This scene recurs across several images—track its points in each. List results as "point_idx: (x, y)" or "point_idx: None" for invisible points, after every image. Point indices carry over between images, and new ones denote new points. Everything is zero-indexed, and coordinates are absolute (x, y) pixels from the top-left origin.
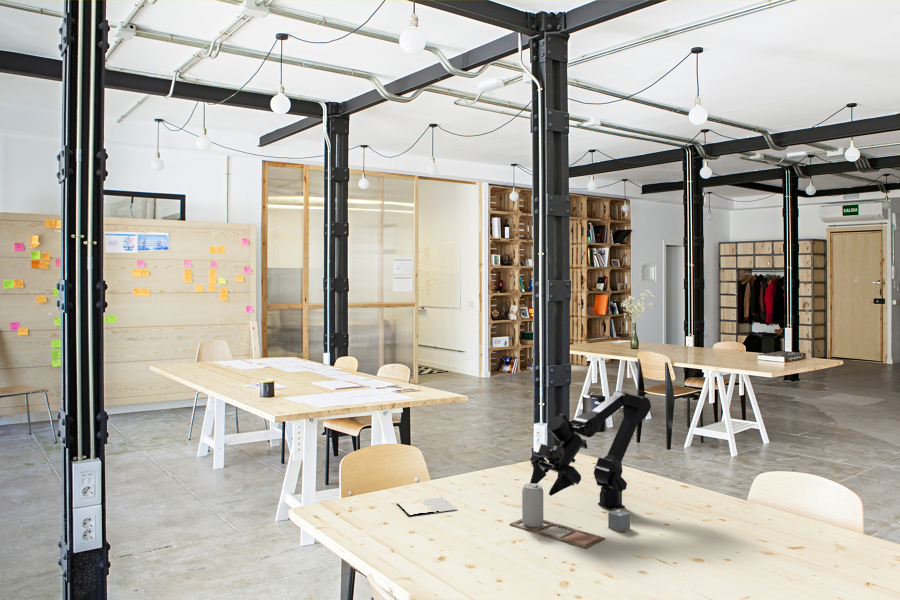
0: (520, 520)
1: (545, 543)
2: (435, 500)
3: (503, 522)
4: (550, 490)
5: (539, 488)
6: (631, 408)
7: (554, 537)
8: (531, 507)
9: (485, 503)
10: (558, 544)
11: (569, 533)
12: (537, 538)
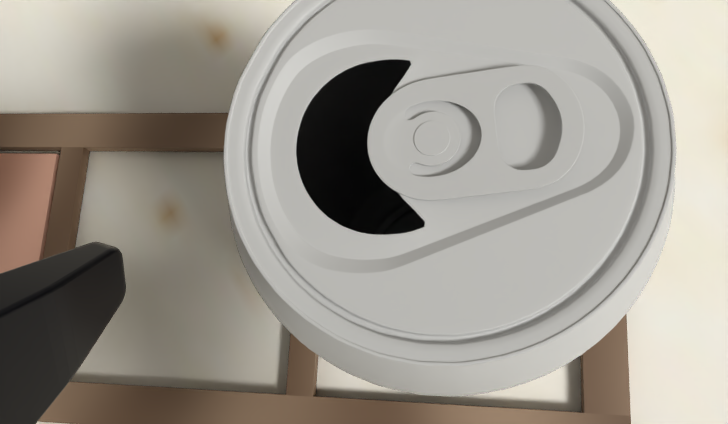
0: None
1: (135, 3)
2: None
3: (714, 134)
4: (58, 267)
5: (230, 110)
6: None
7: (114, 117)
8: (376, 105)
9: None
10: (48, 53)
11: None
12: (234, 39)
